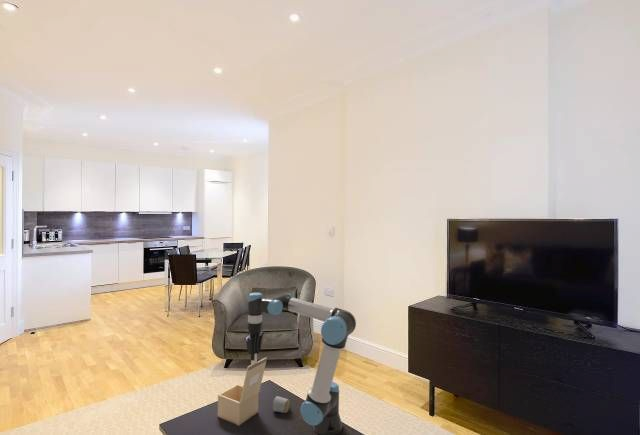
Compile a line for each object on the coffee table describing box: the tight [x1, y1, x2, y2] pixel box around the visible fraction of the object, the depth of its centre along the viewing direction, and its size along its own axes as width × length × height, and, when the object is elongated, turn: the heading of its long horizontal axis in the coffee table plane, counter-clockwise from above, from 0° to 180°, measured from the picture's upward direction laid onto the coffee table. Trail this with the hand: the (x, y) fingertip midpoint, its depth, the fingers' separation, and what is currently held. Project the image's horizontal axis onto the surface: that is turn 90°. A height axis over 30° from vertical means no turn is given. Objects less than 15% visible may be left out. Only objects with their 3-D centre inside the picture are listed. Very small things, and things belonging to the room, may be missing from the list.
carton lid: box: [240, 357, 268, 403], centre depth 190 cm, size 21×15×1 cm
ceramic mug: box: [272, 395, 291, 414], centre depth 201 cm, size 11×8×8 cm
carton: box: [217, 383, 259, 426], centre depth 196 cm, size 16×15×12 cm
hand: (253, 365), depth 190 cm, fingers closed
